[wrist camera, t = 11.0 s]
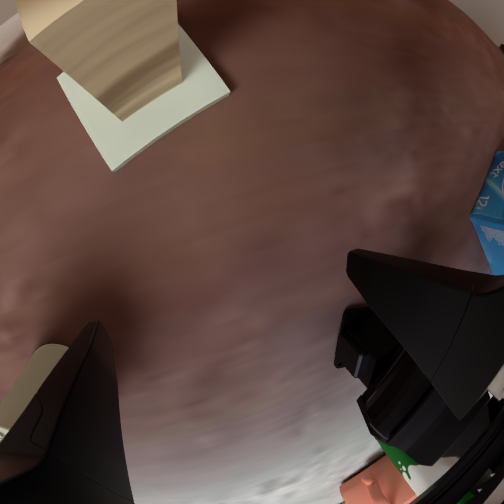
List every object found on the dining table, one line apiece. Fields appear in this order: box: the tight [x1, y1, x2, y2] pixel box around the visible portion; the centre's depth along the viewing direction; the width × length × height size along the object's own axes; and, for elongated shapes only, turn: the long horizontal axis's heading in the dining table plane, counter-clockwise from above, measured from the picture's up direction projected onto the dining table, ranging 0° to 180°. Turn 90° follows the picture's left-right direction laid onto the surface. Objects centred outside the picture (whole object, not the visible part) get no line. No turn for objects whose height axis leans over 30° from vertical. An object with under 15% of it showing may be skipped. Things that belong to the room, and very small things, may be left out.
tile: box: [57, 24, 231, 172], centre depth 16 cm, size 10×10×1 cm
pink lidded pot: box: [340, 454, 418, 504], centre depth 31 cm, size 20×19×14 cm
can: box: [0, 344, 69, 442], centre depth 15 cm, size 9×9×12 cm
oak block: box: [14, 0, 182, 122], centre depth 9 cm, size 5×5×13 cm
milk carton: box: [377, 440, 474, 504], centre depth 23 cm, size 9×9×20 cm
